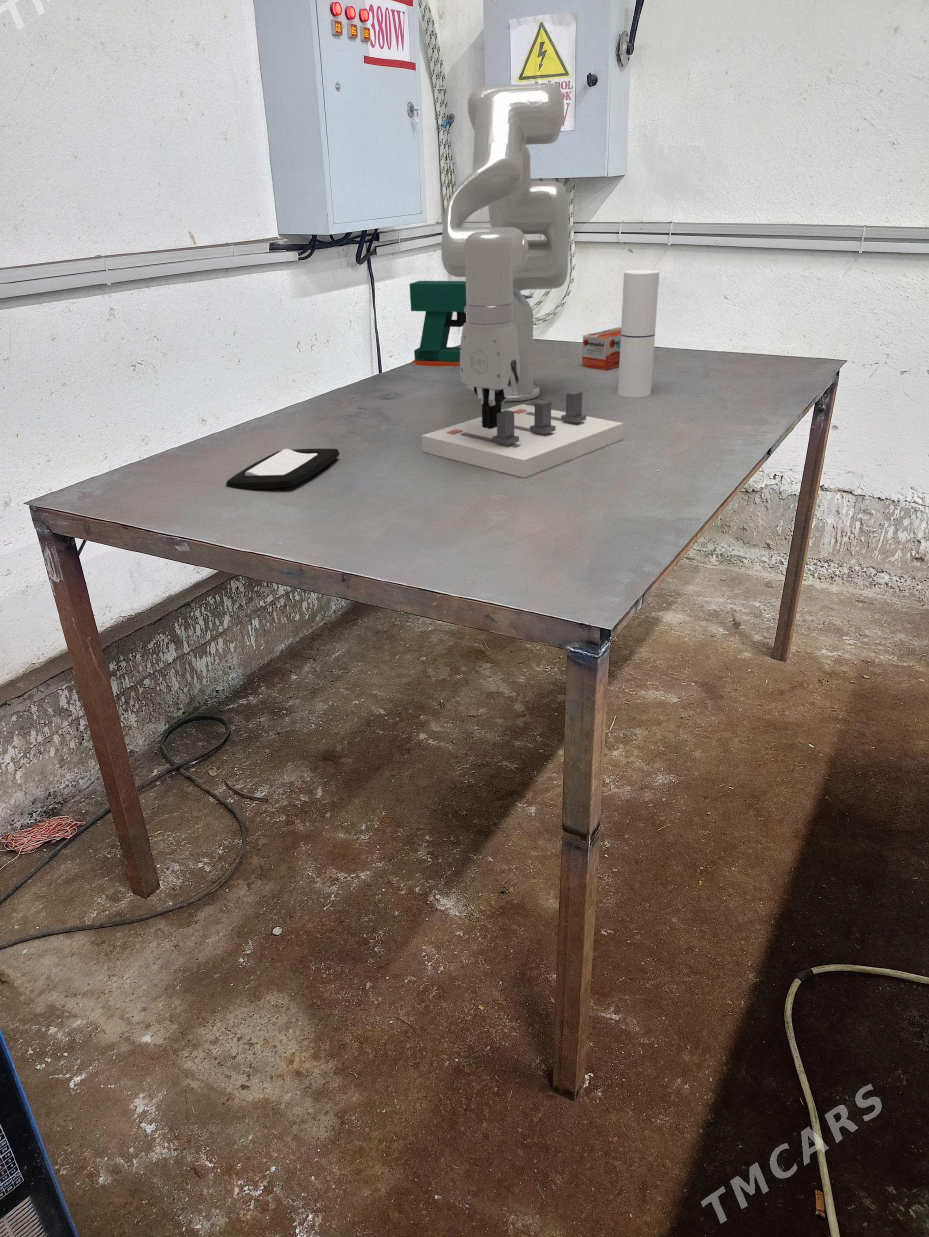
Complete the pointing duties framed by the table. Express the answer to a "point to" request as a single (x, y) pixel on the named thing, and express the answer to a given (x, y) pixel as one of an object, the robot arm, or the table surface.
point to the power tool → (439, 319)
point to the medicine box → (602, 349)
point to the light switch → (283, 468)
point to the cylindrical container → (638, 332)
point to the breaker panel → (522, 442)
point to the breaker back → (573, 407)
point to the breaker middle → (542, 418)
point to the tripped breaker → (505, 428)
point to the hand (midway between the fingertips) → (491, 426)
